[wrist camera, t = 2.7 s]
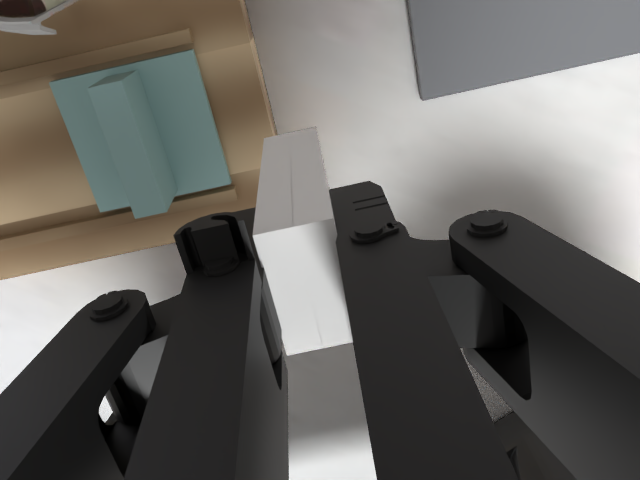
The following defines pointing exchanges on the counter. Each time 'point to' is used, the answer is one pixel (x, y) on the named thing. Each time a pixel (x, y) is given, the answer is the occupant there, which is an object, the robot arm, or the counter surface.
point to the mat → (514, 39)
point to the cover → (143, 132)
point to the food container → (29, 15)
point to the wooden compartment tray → (58, 150)
